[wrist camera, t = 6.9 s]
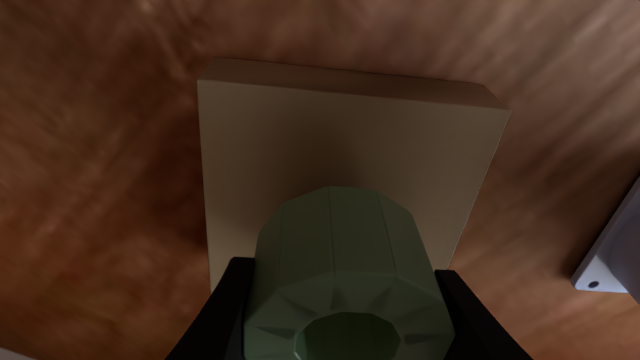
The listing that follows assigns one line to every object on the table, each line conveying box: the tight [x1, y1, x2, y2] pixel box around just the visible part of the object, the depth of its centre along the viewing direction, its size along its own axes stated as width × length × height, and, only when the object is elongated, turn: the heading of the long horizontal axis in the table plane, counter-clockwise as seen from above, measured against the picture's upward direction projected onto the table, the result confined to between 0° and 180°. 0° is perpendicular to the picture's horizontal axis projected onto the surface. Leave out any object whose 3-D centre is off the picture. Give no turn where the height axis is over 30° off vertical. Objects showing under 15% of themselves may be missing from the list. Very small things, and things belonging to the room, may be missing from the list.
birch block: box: [196, 57, 512, 294], centre depth 16 cm, size 10×10×2 cm
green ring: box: [243, 186, 455, 360], centre depth 12 cm, size 6×6×4 cm
